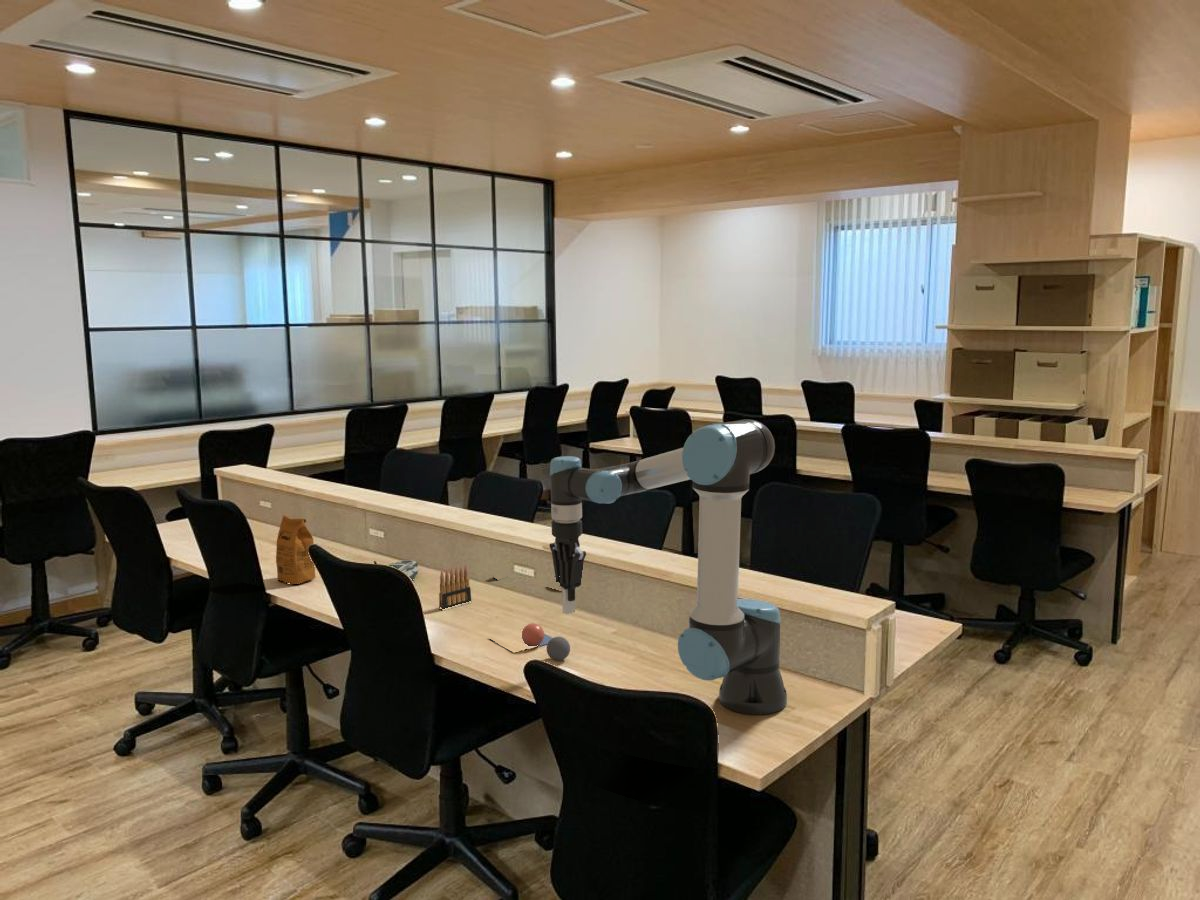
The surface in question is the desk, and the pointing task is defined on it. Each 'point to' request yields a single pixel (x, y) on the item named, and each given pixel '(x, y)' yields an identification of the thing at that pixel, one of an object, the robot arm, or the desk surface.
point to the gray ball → (558, 648)
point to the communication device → (406, 567)
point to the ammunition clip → (454, 588)
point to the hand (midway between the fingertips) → (568, 612)
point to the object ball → (532, 634)
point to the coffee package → (294, 552)
